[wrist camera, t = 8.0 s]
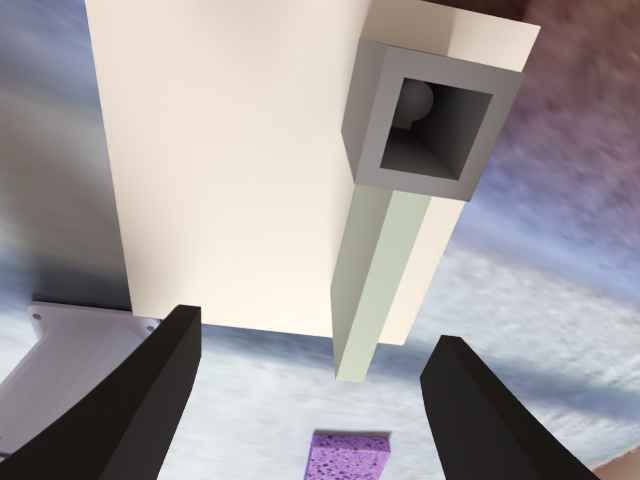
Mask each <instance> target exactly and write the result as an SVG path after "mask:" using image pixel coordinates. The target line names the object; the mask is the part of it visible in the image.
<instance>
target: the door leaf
mask: <svg viewBox="0 0 640 480" xmlns="http://www.w3.org/2000/svg"><path fill="white" fill-rule="evenodd" d="M525 75H526V73H523V72H518V71H513V70H509V69H504V68H499V67H495V66H490V65H485V64H481V63H476V62H471V61H467V60H462V59H457V58H453V57H448V56H443V55H438V54H433V53H428V52H423V51H418V50H413V49H408V48H403V47H398V46H393V45H388V44H383V43H378V42H373V41H368V40H364V39H359V43H358V48H357V53H356V58H355V63H354V68H353V73H352V78H351V83H350V88H349V93H348V98H347V103H346V108H345V113H344V118H343V123H342V128H341V134H342V138H343V142H344V146H345V150H346V154H347V158H348V161H349V165H350V169H351V173H352V177H353V181H354V184H355V188H354V192H353V197H352V201H351V205H350V209H349V213H348V217H347V222H346V226H345V230H344V234H343V238H342V242H341V246H340V251H339V255H338V259H337V263H336V267H335V271H334V275H333V280H332V284H331V288H330V299H331V315H332V332H333V348H334V364H335V380H337V381H347V382H358V383H363V380H364V378H365V375H366V372H367V369H368V367H369V364H370V361H371V359H372V356H373V353H374V351H375V348H376V345H377V343H378V340H379V337H380V335H381V332H382V329H383V327H384V324H385V321H386V319H387V316H388V313H389V310H390V308H391V305H392V302H393V300H394V297H395V294H396V292H397V289H398V286H399V284H400V281H401V278H402V276H403V273H404V270H405V268H406V265H407V262H408V260H409V257H410V254H411V251H412V249H413V246H414V243H415V241H416V238H417V235H418V233H419V230H420V227H421V225H422V222H423V219H424V217H425V214H426V211H427V209H428V206H429V203H430V201H431V198H432V196H434V197H440V198H447V199H453V200H460V201H466V202H470V200H471V198H472V195H473V193H474V191H475V189H476V186H477V184H478V182H479V180H480V177H481V175H482V173H483V170H484V168H485V166H486V164H487V161H488V159H489V157H490V155H491V152H492V150H493V148H494V145H495V143H496V141H497V139H498V136H499V134H500V132H501V129H502V127H503V125H504V123H505V120H506V118H507V116H508V114H509V111H510V109H511V107H512V104H513V102H514V100H515V98H516V95H517V93H518V91H519V89H520V86H521V84H522V82H523V79H524V77H525ZM404 77H406V78H411V79H416V80H422V81H424V83H425V84H427V85H428V86H429V87H430V88H431V90H432V92H433V97H434V98H433V105H432V107H431V109H430V111H429V112H428V114H427V115H425V116H424V117H423V118H421V119H419V120H415V121H412V124H411V127H410V129H405V128H399V127H394V126H391V124H392V120H393V116H394V113H395V109H396V105H397V102H398V98H399V94H400V91H401V87H402V83H403V80H404Z"/></svg>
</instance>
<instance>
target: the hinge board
mask: <svg viewBox="0 0 640 480" xmlns="http://www.w3.org/2000/svg"><path fill="white" fill-rule="evenodd" d="M85 4H86V10H87V17H88V23H89V30H90V36H91V43H92V49H93V56H94V62H95V69H96V76H97V82H98V89H99V95H100V102H101V108H102V115H103V121H104V128H105V134H106V141H107V147H108V154H109V160H110V167H111V174H112V180H113V187H114V193H115V200H116V206H117V213H118V219H119V226H120V232H121V239H122V245H123V252H124V258H125V265H126V272H127V278H128V285H129V291H130V298H131V304H132V311H133V316H141V317H150V318H159V319H165V318H166V317H167V316H168V314H169V313H170V312H171V311H172V310H173V309H174V308H175V307H176V306H177V305H179V304H182V305H191V306H199V307H201V323H205V324H214V325H223V326H232V327H241V328H251V329H260V330H269V331H278V332H287V333H296V334H305V335H315V336H324V337H333V332H332V315H331V299H330V288H331V284H332V280H333V275H334V271H335V267H336V263H337V259H338V255H339V251H340V246H341V242H342V238H343V234H344V230H345V226H346V222H347V217H348V213H349V209H350V205H351V201H352V197H353V192H354V188H355V184H354V181H353V177H352V173H351V169H350V165H349V161H348V158H347V154H346V150H345V146H344V142H343V138H342V134H341V128H342V123H343V118H344V113H345V108H346V103H347V98H348V93H349V88H350V83H351V78H352V73H353V68H354V63H355V58H356V53H357V48H358V43H359V39H364V40H368V41H373V42H378V43H383V44H388V45H393V46H398V47H403V48H408V49H413V50H418V51H423V52H428V53H433V54H438V55H443V56H448V57H453V58H457V59H462V60H467V61H471V62H476V63H481V64H485V65H490V66H495V67H499V68H504V69H509V70H513V71H518V72H521V71H522V69H523V67H524V64H525V62H526V60H527V58H528V55H529V53H530V51H531V48H532V46H533V44H534V41H535V39H536V37H537V34H538V32H539V30H540V27H541V26H536V25H531V24H527V23H522V22H518V21H513V20H508V19H504V18H499V17H495V16H490V15H485V14H481V13H476V12H472V11H467V10H462V9H458V8H453V7H449V6H444V5H439V4H435V3H430V2H425V1H421V0H85ZM433 98H434V97H433V92H432V90H431V88H430V87H429V86H428V85H427V84H425V83H424V81H422V80H416V79H411V78H406V77H404V80H403V83H402V87H401V91H400V94H399V98H398V102H397V105H396V109H395V113H394V116H393V120H392V124H391V126H394V127H399V128H405V129H410V127H411V124H412V121H415V120H419V119H421V118H423V117H424V116H425V115H427V114H428V112H429V111H430V109H431V107H432V105H433ZM464 203H465V201H460V200H453V199H447V198H440V197H434V196H432V198H431V201H430V203H429V206H428V209H427V211H426V214H425V217H424V219H423V222H422V225H421V227H420V230H419V233H418V235H417V238H416V241H415V243H414V246H413V249H412V251H411V254H410V257H409V260H408V262H407V265H406V268H405V270H404V273H403V276H402V278H401V281H400V284H399V286H398V289H397V292H396V294H395V297H394V300H393V302H392V305H391V308H390V310H389V313H388V316H387V319H386V321H385V324H384V327H383V329H382V332H381V335H380V337H379V340H378V342H379V343H388V344H397V345H403V344H404V342H405V340H406V338H407V335H408V333H409V331H410V328H411V326H412V324H413V321H414V319H415V317H416V314H417V312H418V310H419V307H420V305H421V303H422V301H423V298H424V296H425V294H426V291H427V289H428V287H429V284H430V282H431V280H432V277H433V275H434V273H435V270H436V268H437V266H438V263H439V261H440V259H441V257H442V254H443V252H444V250H445V247H446V245H447V243H448V240H449V238H450V236H451V233H452V231H453V229H454V226H455V224H456V222H457V220H458V217H459V215H460V213H461V210H462V208H463V206H464Z"/></svg>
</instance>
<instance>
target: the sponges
mask: <svg viewBox="0 0 640 480" xmlns="http://www.w3.org/2000/svg"><path fill="white" fill-rule="evenodd" d="M390 453H391V450H390V444H389V441H388V442H387V440H385V438H383V437H364V436H345V437H342V436H336V435H313V438H312V443H311V449H310V454H309V459H308V463H307V468H306V472H305V477H304V480H379V478H380V475H381V473H382V471H383V468H384V466H385V464H386V462H387V459H388V458H389V455H390Z"/></svg>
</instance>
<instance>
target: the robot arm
mask: <svg viewBox="0 0 640 480" xmlns="http://www.w3.org/2000/svg"><path fill="white" fill-rule="evenodd" d="M27 311H28V314H29V316H30V319H31V322H32V324H33V327H34V330H35V333H36V335H37V338H38V342H37V343H36V344H35V345H34V347H33V348H32V349H31V350H30V351H29V352H28V353H27V355H26V356H25V357H24V358H23V359H22V360H21V361H20V362H19V364H18V365H17V366H16V367H15V368H14V369H13V370H12V372H11V373H10V374H9V375H8V376H7V377H6V378H5V380H4V381H3V382H2V383H1V384H0V480H157V477H158V474H159V472H160V469H161V467H162V464H163V462H164V459H165V457H166V454H167V451H168V449H169V446H170V444H171V441H172V439H173V436H174V434H175V431H176V429H177V426H178V424H179V421H180V419H181V416H182V414H183V411H184V409H185V406H186V403H187V401H188V398H189V396H190V393H191V391H192V387H193V384H194V380H195V377H196V373H197V369H198V366H199V362H200V358H201V307H199V306H191V305H182V304H179V305H177V306H176V307H175V308H174V309H173V310H172V311H171V312H170V313H169V314H168V316H167V317H166V318H165V319H164V320H163V321H162V322H161V323H160V319H159V318H150V317H141V316H133V312H129V311H120V310H111V309H102V308H93V307H83V306H74V305H65V304H56V303H47V302H38V301H34V302H31V303H30V304H29V305H28V306H27ZM151 326H152V327H151ZM420 382H421V389H422V395H423V400H424V406H425V411H426V415H427V418H428V422H429V425H430V428H431V432H432V435H433V439H434V442H435V445H436V448H437V452H438V455H439V458H440V461H441V465H442V468H443V471H444V475H445V478H446V480H600V479H599V478H598V477H597V476H596V475H595V474H594V473H592V472H591V471H590V470H589V469H588V468H587V467H586V466H585V465H584V464H582V463H581V462H580V461H579V460H578V459H577V458H576V457H575V456H574V455H572V454H571V453H570V452H569V451H568V450H567V449H566V448H565V447H564V446H563V445H562V444H561V443H560V442H559V441H558V440H557V439H556V438H555V437H554V436H553V435H552V434H551V433H550V432H549V431H548V430H547V429H546V428H545V427H544V426H543V425H542V424H541V423H540V422H539V421H538V420H537V419H536V418H535V417H534V416H533V415H532V414H531V413H530V412H529V411H528V410H527V409H526V408H525V407H524V406H523V405H522V404H521V403H520V402H519V400H518V399H517V398H516V397H515V396H514V395H513V394H512V393H511V392H510V391H509V390H508V389H507V388H506V386H505V385H504V384H503V383H502V382H501V381H500V380H499V379H498V378H497V376H496V375H495V374H494V373H493V372H492V371H491V370H490V369H489V368H488V366H487V365H486V364H485V363H484V362H483V361H482V360H481V359H480V358H479V356H478V355H477V354H476V353H475V352H474V351H473V350H472V349H471V348H470V347H469V345H468V344H467V343H466V342H465V341H464V340H463V339H462V338H461V337H456V336H447V335H441V337H440V339H439V341H438V343H437V345H436V347H435V349H434V351H433V353H432V355H431V357H430V358H429V360H428V362H427V364H426V366H425V368H424V370H423V372H422V374H421V376H420Z"/></svg>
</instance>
